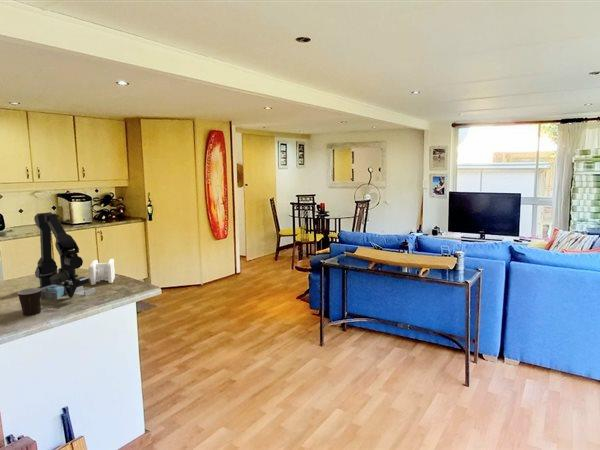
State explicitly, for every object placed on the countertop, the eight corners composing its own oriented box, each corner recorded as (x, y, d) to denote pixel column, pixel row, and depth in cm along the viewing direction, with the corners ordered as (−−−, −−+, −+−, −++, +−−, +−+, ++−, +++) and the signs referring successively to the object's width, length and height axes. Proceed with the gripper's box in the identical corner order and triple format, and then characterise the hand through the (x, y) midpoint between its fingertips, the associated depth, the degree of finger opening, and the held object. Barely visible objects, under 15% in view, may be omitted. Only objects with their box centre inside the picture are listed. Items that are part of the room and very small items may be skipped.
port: (36, 300, 198) (34, 288, 198) (58, 292, 210) (57, 281, 209) (52, 302, 195) (51, 291, 194) (74, 294, 206) (73, 284, 205)
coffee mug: (27, 309, 186) (24, 288, 184) (47, 309, 187) (45, 287, 185) (11, 320, 174) (8, 296, 173) (33, 319, 175) (30, 296, 174)
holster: (72, 295, 205) (71, 289, 205) (82, 291, 211) (81, 286, 210) (85, 297, 202) (85, 291, 202) (95, 293, 208) (95, 287, 207)
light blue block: (48, 298, 201) (47, 286, 200) (55, 295, 205) (54, 284, 204) (57, 299, 199) (56, 287, 198) (64, 297, 203) (63, 285, 202)
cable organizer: (112, 285, 221) (110, 264, 219) (89, 287, 218) (88, 265, 216) (115, 277, 235) (114, 257, 233) (94, 279, 232) (93, 258, 230)
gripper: (37, 267, 192) (41, 300, 194) (67, 271, 185) (71, 305, 188) (58, 262, 202) (62, 293, 204) (88, 265, 196) (91, 297, 198)
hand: (71, 297), depth 198 cm, fingers closed
